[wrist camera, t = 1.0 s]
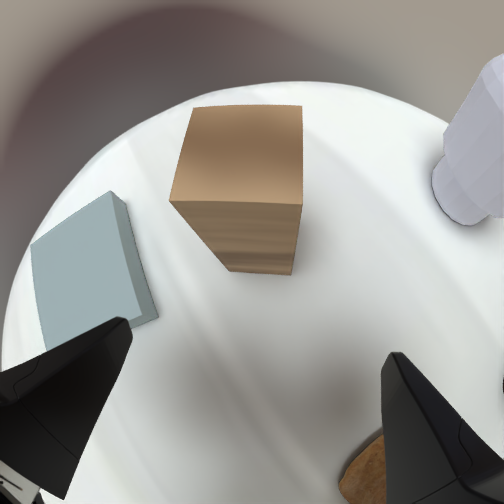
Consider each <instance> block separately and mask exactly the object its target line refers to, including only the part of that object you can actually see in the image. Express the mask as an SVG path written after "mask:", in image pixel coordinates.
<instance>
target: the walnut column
mask: <svg viewBox="0 0 504 504" xmlns="http://www.w3.org/2000/svg"><path fill="white" fill-rule="evenodd" d="M169 202H170V203H171V204H172V205H173V206H174V208H175V209H176V210H177V211H178V212H179V214H180V215H181V216H182V217H183V218H184V220H185V221H186V222H187V223H188V224H189V225H190V227H191V228H192V229H193V230H194V231H195V232H196V234H197V235H198V236H199V237H200V238H201V240H202V241H203V242H204V243H205V244H206V245H207V246H208V248H209V249H210V250H211V251H212V252H213V253H214V255H215V256H216V257H217V258H218V259H219V260H220V261H221V263H222V264H223V265H224V266H225V267H226V268H227V269H228V271H231V272H246V273H261V274H276V275H291V271H292V265H293V260H294V254H295V248H296V242H297V236H298V230H299V224H300V218H301V212H302V205H303V123H302V106H294V105H227V106H209V107H197V108H193V111H192V114H191V118H190V121H189V124H188V128H187V131H186V135H185V138H184V142H183V145H182V149H181V153H180V157H179V160H178V164H177V168H176V172H175V176H174V180H173V185H172V189H171V193H170V198H169Z"/></svg>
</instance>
